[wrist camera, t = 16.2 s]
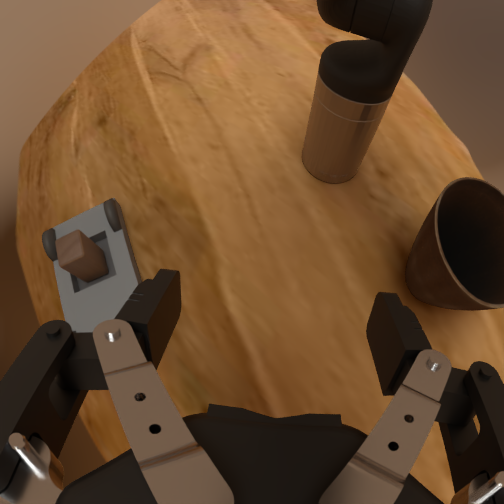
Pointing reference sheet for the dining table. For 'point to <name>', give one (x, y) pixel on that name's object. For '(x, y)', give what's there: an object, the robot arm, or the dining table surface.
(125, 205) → the dining table surface
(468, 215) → the plant pot
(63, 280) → the chassis
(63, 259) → the wooden block
